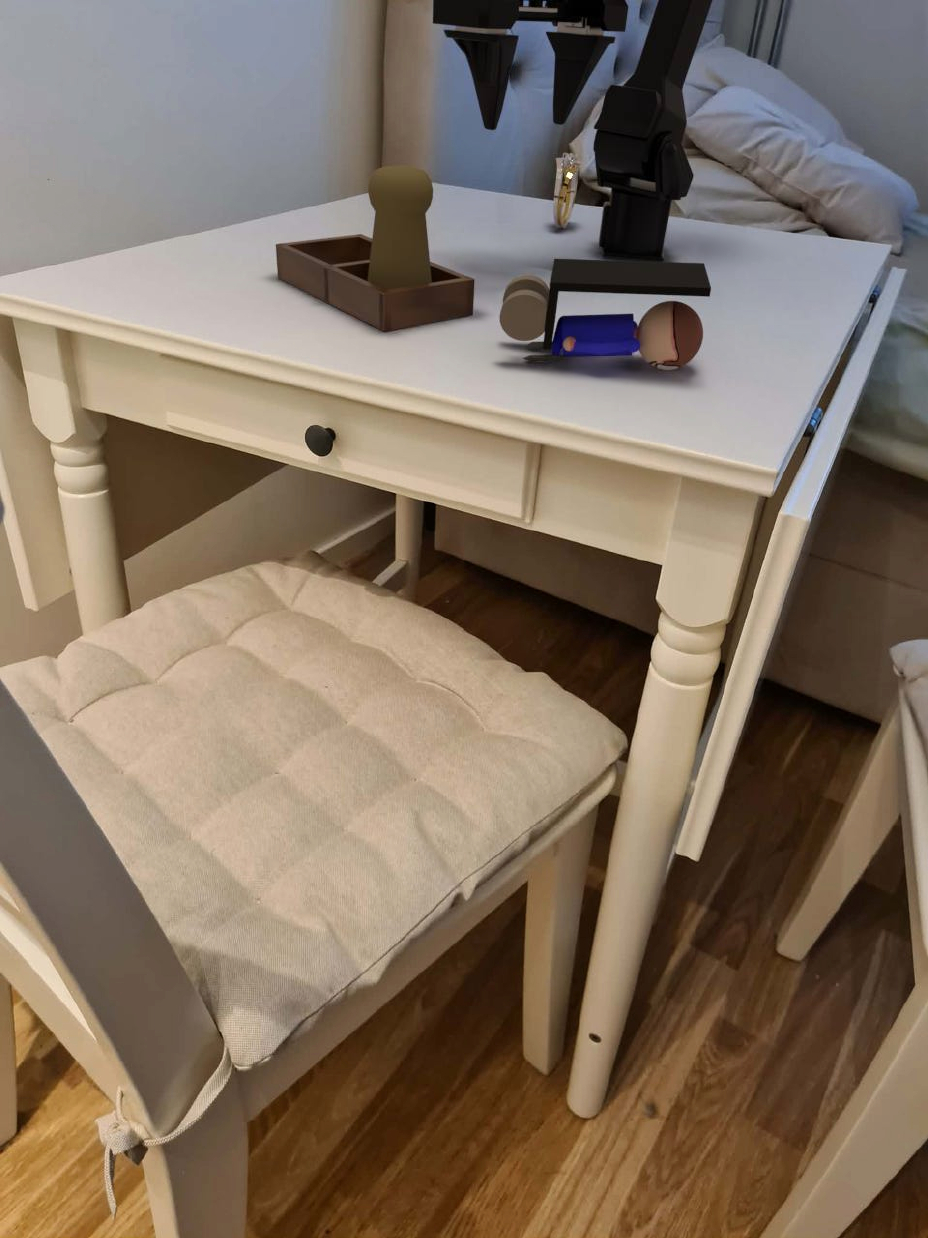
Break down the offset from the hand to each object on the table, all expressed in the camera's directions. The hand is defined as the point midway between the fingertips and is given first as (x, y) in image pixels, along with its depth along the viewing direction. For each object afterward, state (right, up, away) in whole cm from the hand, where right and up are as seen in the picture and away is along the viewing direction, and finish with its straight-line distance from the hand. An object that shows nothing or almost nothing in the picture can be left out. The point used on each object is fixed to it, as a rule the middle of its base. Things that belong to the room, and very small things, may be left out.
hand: (525, 126), depth 79 cm
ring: (+6, +3, +27) cm, 28 cm away
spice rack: (-14, -15, 0) cm, 20 cm away
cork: (-11, -17, -2) cm, 20 cm away
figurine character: (+5, -24, -11) cm, 27 cm away
